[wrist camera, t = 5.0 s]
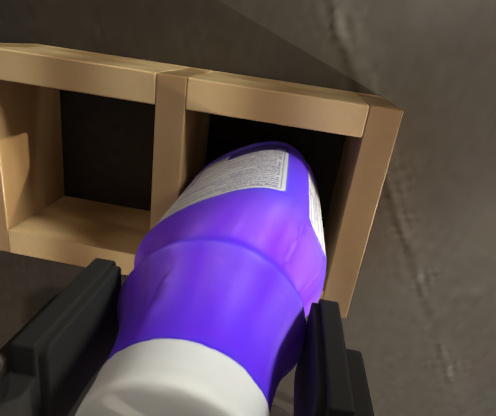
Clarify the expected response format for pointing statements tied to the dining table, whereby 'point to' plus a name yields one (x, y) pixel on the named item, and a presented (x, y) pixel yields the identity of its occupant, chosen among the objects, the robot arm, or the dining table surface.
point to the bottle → (218, 292)
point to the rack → (171, 152)
